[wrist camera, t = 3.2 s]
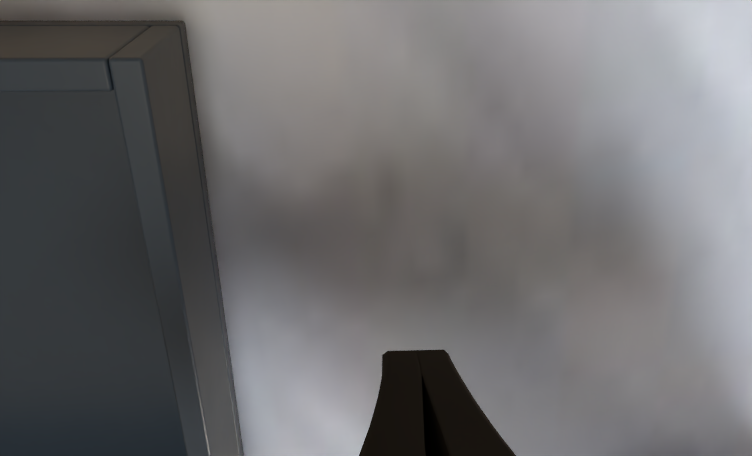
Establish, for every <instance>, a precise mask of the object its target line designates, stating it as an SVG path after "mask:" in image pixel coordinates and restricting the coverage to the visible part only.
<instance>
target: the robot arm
mask: <svg viewBox="0 0 752 456" xmlns="http://www.w3.org/2000/svg"><path fill="white" fill-rule="evenodd" d="M359 456H516V455H515V454H514V452H513V451H512V450H511V449H510V447H509V446H508V445H507V444H506V442H505V441H504V440H503V439H502V437H501V436H500V435H499V433H498V432H497V431H496V429H495V428H494V427H493V425H492V424H491V423H490V421H489V420H488V418H487V417H486V415H485V414H484V413H483V411H482V410H481V408H480V407H479V405H478V404H477V402H476V401H475V399H474V398H473V396H472V395H471V393H470V392H469V390H468V388H467V387H466V385H465V384H464V382H463V380H462V379H461V377H460V375H459V373H458V372H457V370H456V368H455V366H454V364H453V362H452V360H451V359H450V356H449V354H448V353H447V352H446V351H445V350H411V351H387V352H386V353H385V354H383V355H382V379H381V385H380V390H379V395H378V399H377V403H376V406H375V410H374V413H373V417H372V421H371V424H370V427H369V430H368V433H367V435H366V438H365V441H364V444H363V446H362V449H361V452H360V454H359Z"/></svg>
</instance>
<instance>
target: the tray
mask: <svg viewBox="0 0 752 456" xmlns="http://www.w3.org/2000/svg"><path fill="white" fill-rule="evenodd" d="M0 456H243V449H242V441H241V434H240V427H239V419H238V412H237V405H236V397H235V390H234V383H233V375H232V368H231V361H230V353H229V346H228V339H227V331H226V324H225V317H224V309H223V302H222V295H221V287H220V280H219V273H218V265H217V258H216V251H215V243H214V236H213V228H212V221H211V214H210V206H209V199H208V192H207V184H206V177H205V170H204V162H203V155H202V148H201V140H200V133H199V126H198V118H197V111H196V104H195V96H194V89H193V82H192V74H191V67H190V60H189V52H188V45H187V38H186V30H185V24H184V22H183V21H0Z"/></svg>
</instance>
